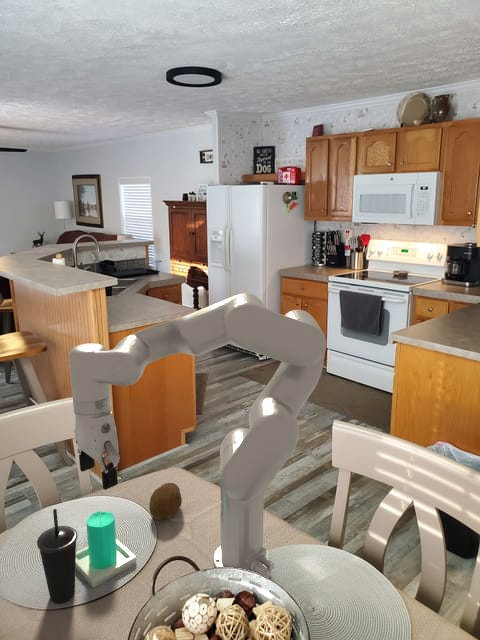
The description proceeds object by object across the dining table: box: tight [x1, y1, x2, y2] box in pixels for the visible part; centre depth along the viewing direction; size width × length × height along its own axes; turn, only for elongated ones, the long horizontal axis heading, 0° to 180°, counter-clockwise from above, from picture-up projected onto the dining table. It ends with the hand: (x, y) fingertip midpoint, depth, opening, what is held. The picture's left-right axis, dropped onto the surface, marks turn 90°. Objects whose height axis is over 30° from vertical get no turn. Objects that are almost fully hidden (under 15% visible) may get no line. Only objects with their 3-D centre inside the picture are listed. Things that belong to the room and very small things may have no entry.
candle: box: [85, 510, 117, 569], centre depth 113 cm, size 6×6×12 cm
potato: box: [148, 482, 183, 520], centre depth 131 cm, size 8×12×8 cm, turn 178°
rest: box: [75, 538, 137, 589], centre depth 114 cm, size 11×11×2 cm
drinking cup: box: [36, 508, 78, 605], centre depth 103 cm, size 8×8×20 cm
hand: (98, 477), depth 109 cm, fingers open, 9 cm apart
